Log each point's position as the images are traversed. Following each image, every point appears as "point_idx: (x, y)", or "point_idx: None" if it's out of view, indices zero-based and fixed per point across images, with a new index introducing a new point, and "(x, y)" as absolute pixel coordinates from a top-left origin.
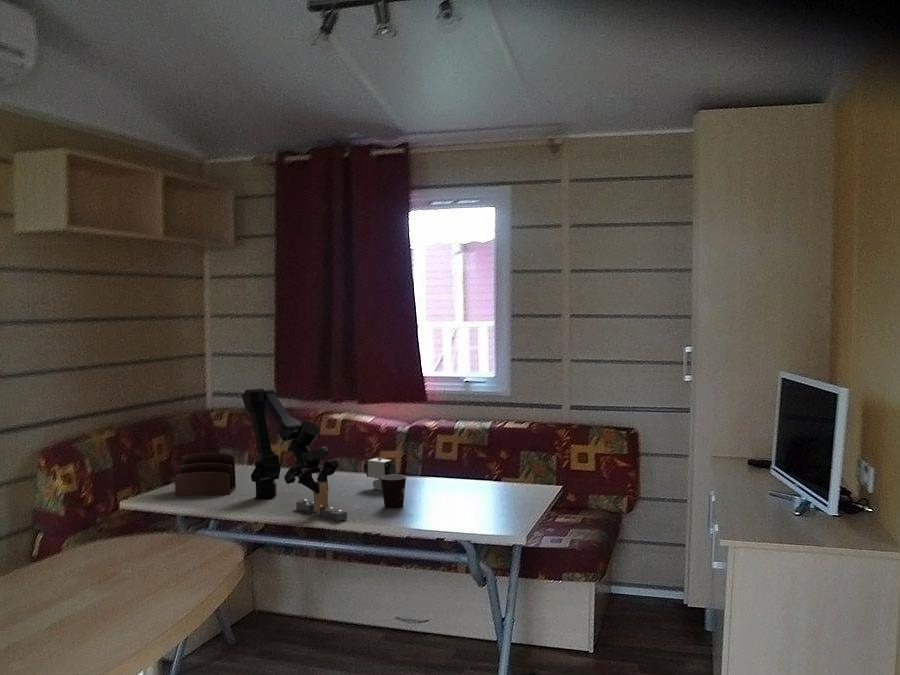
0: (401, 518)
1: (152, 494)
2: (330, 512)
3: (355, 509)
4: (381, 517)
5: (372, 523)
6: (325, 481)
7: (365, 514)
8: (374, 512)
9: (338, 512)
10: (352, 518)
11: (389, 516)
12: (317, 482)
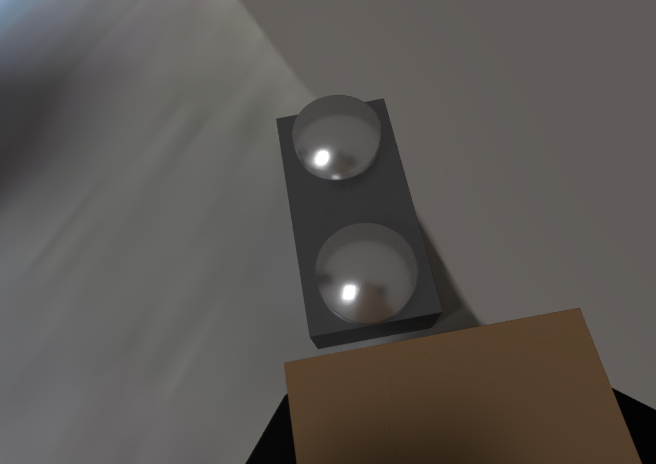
0: (10, 18)
1: None
2: (401, 185)
3: (43, 409)
4: (73, 90)
5: (201, 15)
6: (323, 418)
7: (95, 211)
8: (11, 221)
9: (359, 103)
10: (233, 170)
11: (23, 83)
12: (607, 462)
